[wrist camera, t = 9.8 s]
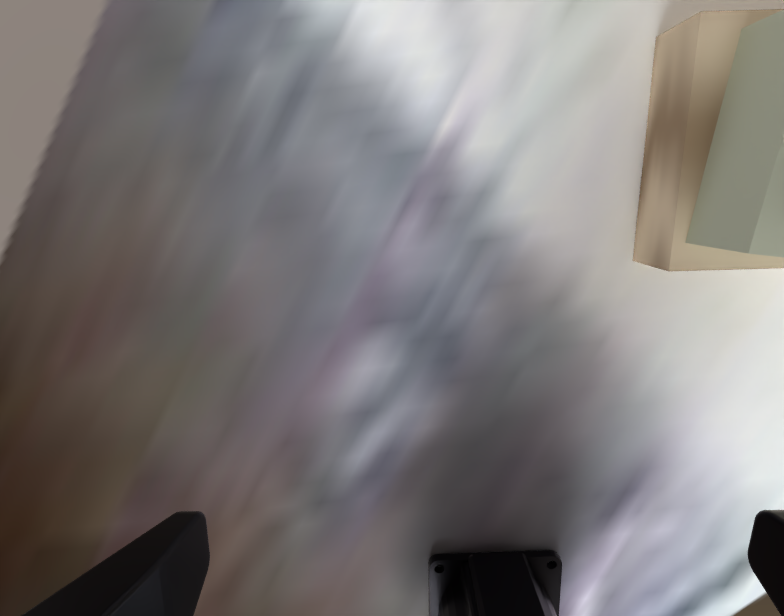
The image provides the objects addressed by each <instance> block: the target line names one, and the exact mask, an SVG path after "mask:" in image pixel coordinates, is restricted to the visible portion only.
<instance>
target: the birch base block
mask: <svg viewBox="0 0 784 616" xmlns="http://www.w3.org/2000/svg"><path fill="white" fill-rule="evenodd" d="M781 10H783V9H775V10H736V11H701V12H699V13H697V14H696V15H694V16H692V17H690V18H689V19H687V20H685V21H683V22H682V23H680V24H678V25H676V26H675V27H673V28H671V29H669V30H668V31H666V32H664V33H662V34H661V35H659V36H657V37H656V43H655V53H654V62H653V72H652V81H651V91H650V101H649V110H648V120H647V129H646V139H645V148H644V158H643V168H642V177H641V187H640V196H639V206H638V216H637V225H636V235H635V244H634V254H633V261H635V262H638V263H642V264H645V265H649V266H652V267H656V268H659V269H663V270H666V271H696V270H732V269H768V268H784V257H775V256H766V255H757V254H748V253H742V252H736V251H730V250H724V249H719V248H713V247H707V246H701V245H695V244H689V243H685V242H686V239H687V235H688V231H689V227H690V223H691V219H692V216H693V212H694V208H695V204H696V200H697V197H698V193H699V189H700V185H701V181H702V178H703V174H704V170H705V166H706V162H707V159H708V155H709V151H710V147H711V143H712V139H713V136H714V132H715V128H716V124H717V120H718V117H719V113H720V109H721V105H722V101H723V98H724V94H725V90H726V86H727V82H728V79H729V75H730V71H731V67H732V64H733V60H734V56H735V52H736V48H737V45H738V41H739V37H740V33H741V29H742V28H744V27H746V26H749V25H751V24H753V23H755V22H757V21H759V20H762V19H764V18H766V17H768V16H770V15H772V14H775V13H777V12H779V11H781Z"/></svg>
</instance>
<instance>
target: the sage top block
mask: <svg viewBox="0 0 784 616" xmlns="http://www.w3.org/2000/svg"><path fill="white" fill-rule="evenodd" d="M685 243H689V244H695V245H701V246H707V247H713V248H719V249H724V250H730V251H736V252H742V253H748V254H757V255H766V256H775V257H784V9H783V10H781V11H779V12H777V13H775V14H772V15H770V16H768V17H766V18H764V19H762V20H759V21H757V22H755V23H753V24H751V25H749V26H746V27H744V28H742V29H741V33H740V37H739V41H738V45H737V48H736V52H735V56H734V60H733V64H732V67H731V71H730V75H729V79H728V82H727V86H726V90H725V94H724V98H723V101H722V105H721V109H720V113H719V117H718V120H717V124H716V128H715V132H714V136H713V139H712V143H711V147H710V151H709V155H708V159H707V162H706V166H705V170H704V174H703V178H702V181H701V185H700V189H699V193H698V197H697V200H696V204H695V208H694V212H693V216H692V219H691V223H690V227H689V231H688V235H687V239H686V242H685Z"/></svg>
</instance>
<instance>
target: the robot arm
mask: <svg viewBox="0 0 784 616" xmlns="http://www.w3.org/2000/svg"><path fill="white" fill-rule="evenodd" d="M209 560H210V552H209V543H208V534H207V525H206V518H205V516H204V514H203V513H202V512H199V511H181V512H176V513H175V514H173V515H171V516H170V517H168V518H167V519H165V520H164V521H162V522H161V523H159V524H158V525H156V526H155V527H153V528H152V529H150V530H149V531H147V532H146V533H144V534H143V535H141V536H140V537H138V538H137V539H135V540H134V541H132V542H131V543H129V544H128V545H126V546H125V547H123V548H122V549H120V550H119V551H117V552H116V553H114V554H113V555H111V556H110V557H108V558H107V559H105V560H104V561H102V562H101V563H99V564H98V565H96V566H95V567H93V568H92V569H90V570H89V571H87V572H86V573H84V574H83V575H81V576H80V577H78V578H77V579H75V580H74V581H72V582H71V583H69V584H68V585H66V586H65V587H63V588H62V589H60V590H59V591H57V592H56V593H54V594H53V595H52V596H50V597H49V598H47V599H46V600H44V601H43V602H41V603H40V604H38V605H37V606H35V607H34V608H32V609H31V610H29V611H28V612H26V613H25V614H23V615H22V616H193V615H194V612H195V609H196V606H197V603H198V599H199V596H200V593H201V590H202V587H203V584H204V581H205V577H206V574H207V571H208V567H209ZM748 560H749V563H750V566H751V568H752V570H753V572H754V573H755V575H756V576H757V578H758V580H759V581H760V583H761V584H762V586H763V587H764V589H765V591H766V592H767V594H768V595H769V597H770V598H771V600H772V602H773V603H774V605H775V606H776V608H777V610H778V611H779V613H780V614H781V616H784V510H763V511H760V512H759V513H758V514H757V515H756V517H755V520H754V525H753V529H752V534H751V538H750V543H749V547H748ZM549 561H552V562H551V563H548V562H549ZM436 565H442V566H440V567H436ZM561 572H562V562H561V559H560V557H559V555H558V554H557V552H555V551H552V550H542V551H514V552H486V553H458V554H437V555H434V556H432V557H431V558H430V559H429V611H430V616H559V603H560V587H561Z"/></svg>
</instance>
